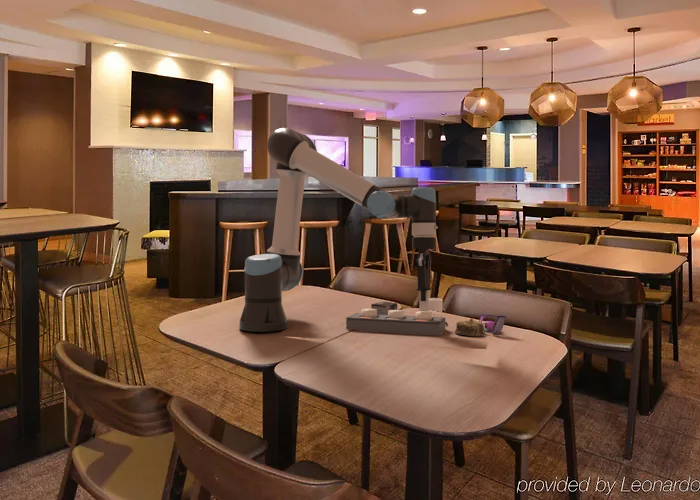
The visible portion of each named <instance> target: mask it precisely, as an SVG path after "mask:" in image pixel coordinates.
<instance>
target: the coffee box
mask: <svg viewBox="0 0 700 500" xmlns="http://www.w3.org/2000/svg"><path fill="white" fill-rule="evenodd" d="M370 309H377V314H382V315H388V311H389V310H398V303H397V302H391V301H379V302H375V303H371V308H370Z"/></svg>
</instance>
